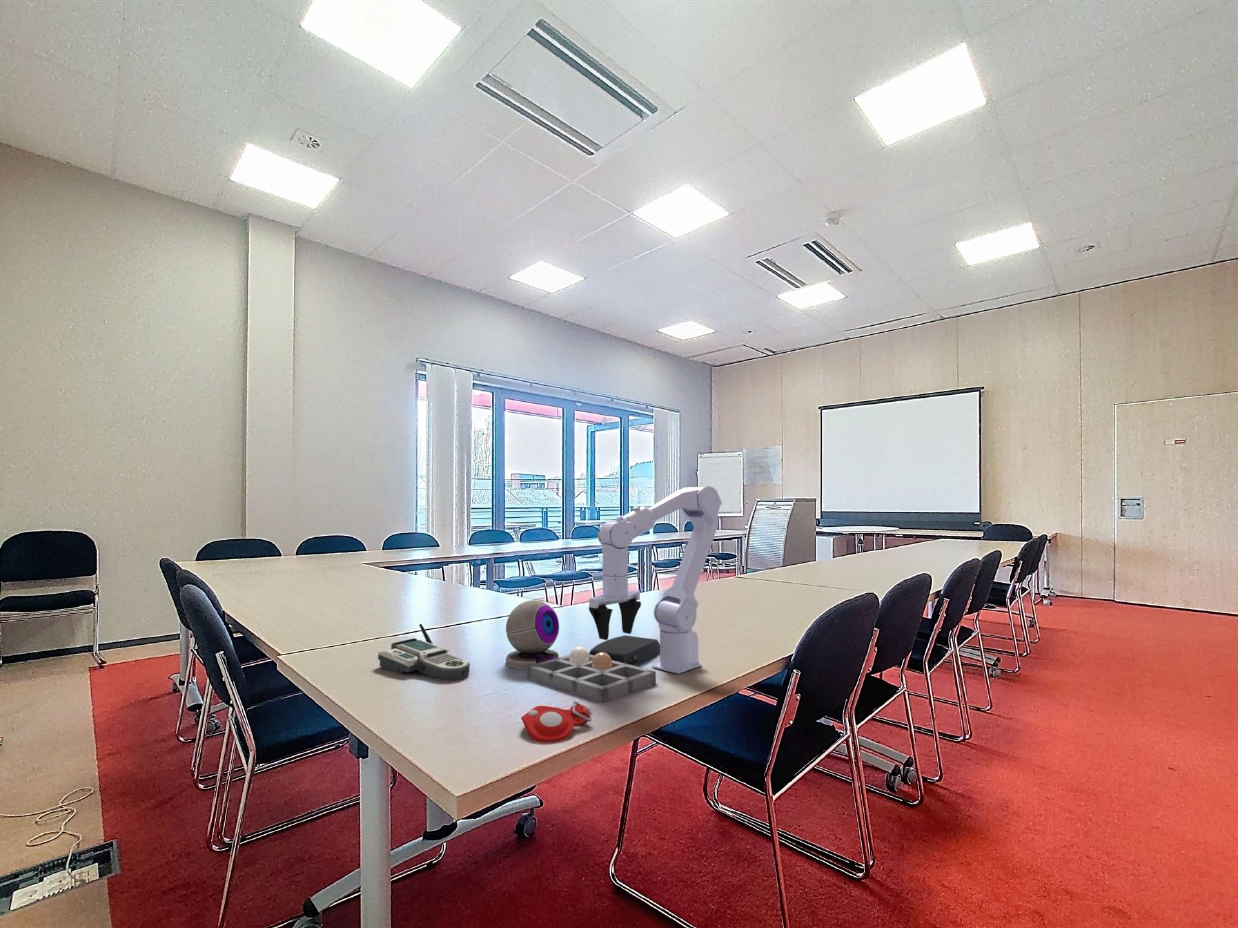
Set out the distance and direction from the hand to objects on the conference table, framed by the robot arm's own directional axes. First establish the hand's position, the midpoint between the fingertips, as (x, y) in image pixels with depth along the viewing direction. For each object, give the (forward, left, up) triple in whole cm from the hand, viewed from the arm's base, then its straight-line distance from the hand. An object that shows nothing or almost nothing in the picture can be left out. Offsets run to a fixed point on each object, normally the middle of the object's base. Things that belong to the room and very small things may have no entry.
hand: (615, 635), depth 130 cm
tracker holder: (+28, +13, -10) cm, 32 cm away
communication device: (+26, -37, -10) cm, 46 cm away
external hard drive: (-14, -10, -10) cm, 20 cm away
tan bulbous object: (+1, -3, -9) cm, 10 cm away
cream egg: (+1, -11, -9) cm, 14 cm away
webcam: (+4, -24, -10) cm, 26 cm away
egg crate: (+5, -3, -9) cm, 11 cm away
